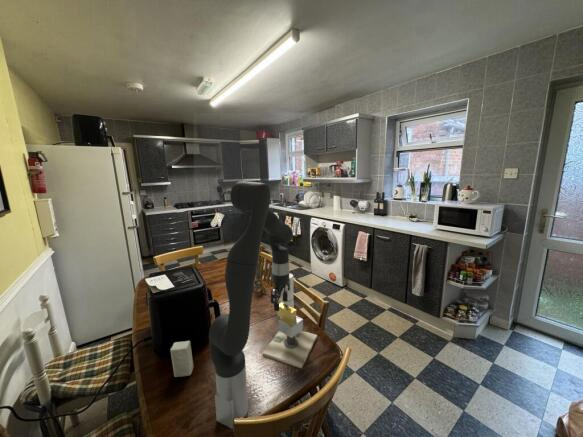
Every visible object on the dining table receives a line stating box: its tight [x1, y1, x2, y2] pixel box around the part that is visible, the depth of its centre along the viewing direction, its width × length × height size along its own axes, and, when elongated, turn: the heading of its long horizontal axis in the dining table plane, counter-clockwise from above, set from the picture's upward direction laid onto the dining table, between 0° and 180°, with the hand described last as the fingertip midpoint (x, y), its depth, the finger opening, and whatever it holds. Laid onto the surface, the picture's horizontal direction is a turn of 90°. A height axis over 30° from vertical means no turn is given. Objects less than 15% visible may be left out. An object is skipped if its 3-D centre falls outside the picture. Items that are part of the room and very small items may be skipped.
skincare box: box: [169, 340, 194, 378], centre depth 91 cm, size 6×4×12 cm
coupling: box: [276, 302, 304, 338], centre depth 105 cm, size 11×8×10 cm
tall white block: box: [279, 272, 295, 320], centre depth 123 cm, size 7×7×25 cm
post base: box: [262, 330, 318, 369], centre depth 105 cm, size 20×18×11 cm
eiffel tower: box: [252, 261, 268, 298], centre depth 153 cm, size 11×11×25 cm
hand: (281, 305), depth 104 cm, fingers open, 8 cm apart
